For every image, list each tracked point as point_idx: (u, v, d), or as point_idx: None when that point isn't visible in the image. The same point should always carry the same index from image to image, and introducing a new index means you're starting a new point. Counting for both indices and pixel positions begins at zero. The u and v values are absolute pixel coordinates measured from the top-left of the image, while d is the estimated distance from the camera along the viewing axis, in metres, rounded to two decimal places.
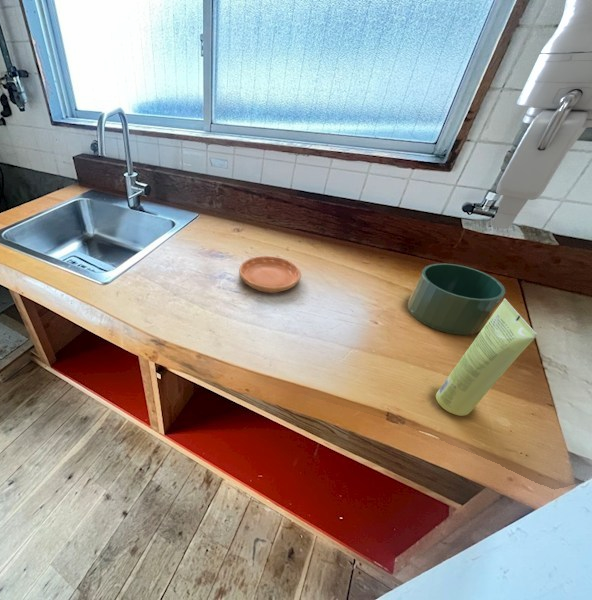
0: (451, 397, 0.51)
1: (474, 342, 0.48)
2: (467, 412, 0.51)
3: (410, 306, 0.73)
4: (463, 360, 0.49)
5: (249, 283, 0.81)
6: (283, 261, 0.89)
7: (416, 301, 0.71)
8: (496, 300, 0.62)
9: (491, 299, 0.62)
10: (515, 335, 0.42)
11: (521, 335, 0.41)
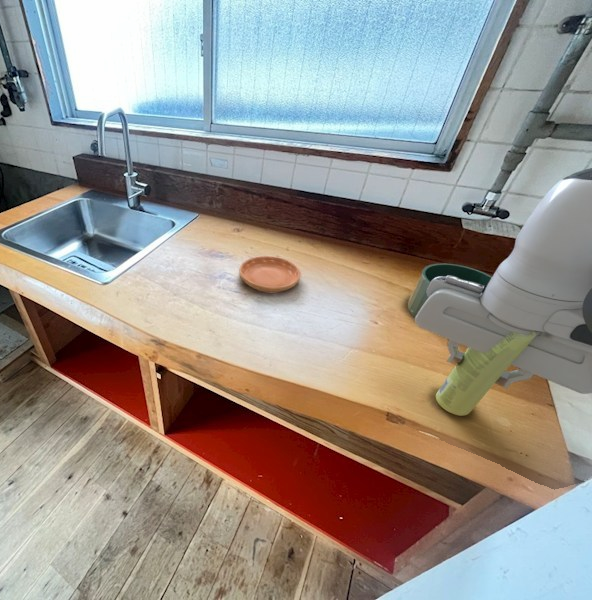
0: (451, 397, 0.51)
1: None
2: (467, 412, 0.51)
3: (410, 306, 0.73)
4: (463, 360, 0.49)
5: (249, 283, 0.81)
6: (283, 261, 0.89)
7: (416, 301, 0.71)
8: None
9: None
10: (514, 335, 0.42)
11: (520, 335, 0.41)
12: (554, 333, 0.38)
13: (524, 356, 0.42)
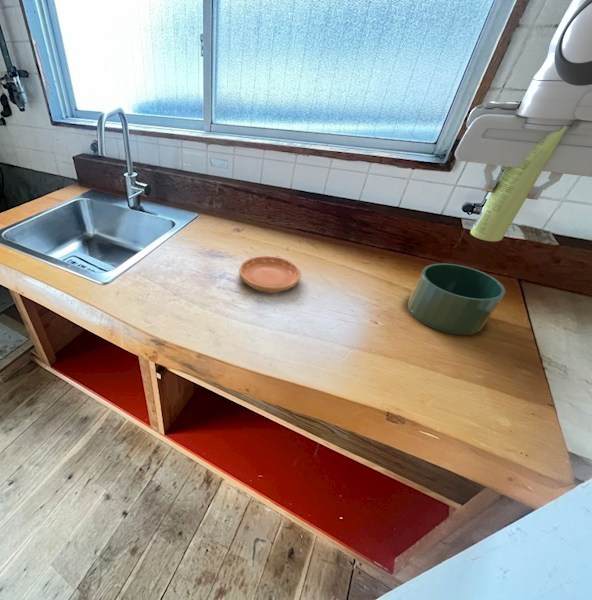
0: (486, 223, 0.59)
1: None
2: (500, 236, 0.59)
3: (410, 306, 0.73)
4: (497, 184, 0.57)
5: (249, 283, 0.81)
6: (283, 261, 0.89)
7: (416, 301, 0.71)
8: (496, 300, 0.62)
9: (491, 299, 0.62)
10: (547, 137, 0.49)
11: (552, 134, 0.48)
12: (583, 117, 0.45)
13: (555, 156, 0.50)
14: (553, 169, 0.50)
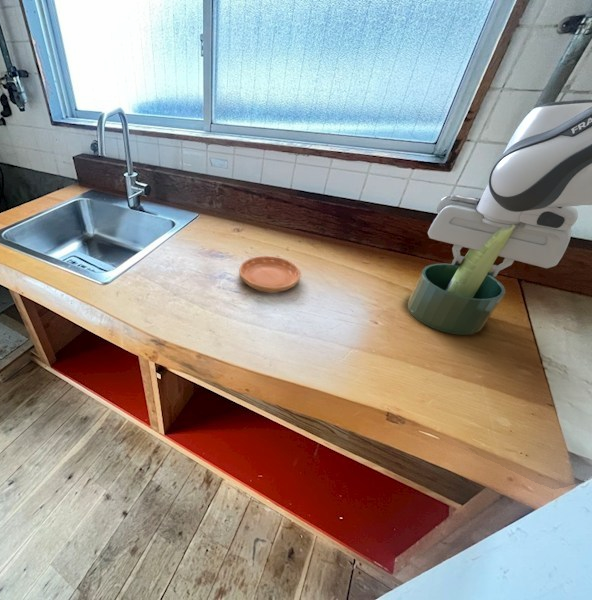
0: (454, 291, 0.69)
1: None
2: None
3: (410, 306, 0.73)
4: (463, 260, 0.67)
5: (249, 283, 0.81)
6: (283, 261, 0.89)
7: (416, 301, 0.71)
8: (496, 300, 0.62)
9: (491, 299, 0.62)
10: (500, 231, 0.59)
11: (504, 229, 0.58)
12: (526, 221, 0.55)
13: (507, 246, 0.60)
14: (506, 256, 0.60)
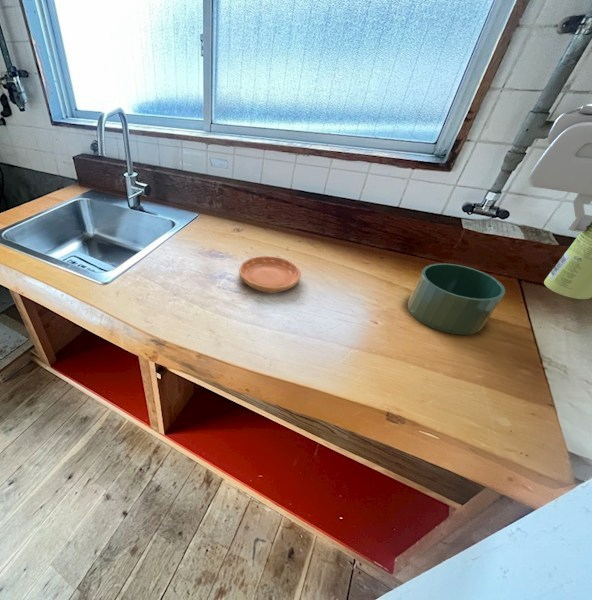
0: (572, 275, 0.42)
1: None
2: None
3: (410, 306, 0.73)
4: None
5: (249, 283, 0.81)
6: (283, 261, 0.89)
7: (416, 301, 0.71)
8: (496, 300, 0.62)
9: (491, 299, 0.62)
10: None
11: None
12: None
13: None
14: None
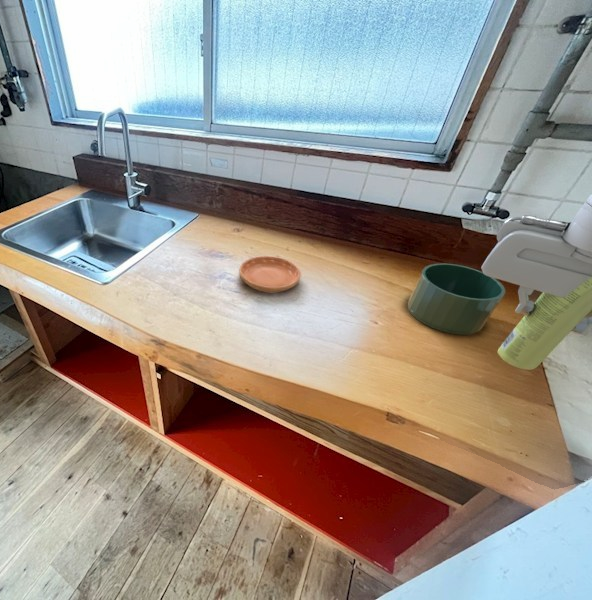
0: (518, 350, 0.49)
1: None
2: (535, 365, 0.49)
3: (410, 306, 0.73)
4: (534, 308, 0.47)
5: (249, 283, 0.81)
6: (283, 261, 0.89)
7: (416, 301, 0.71)
8: (496, 300, 0.62)
9: (491, 299, 0.62)
10: None
11: None
12: None
13: None
14: None
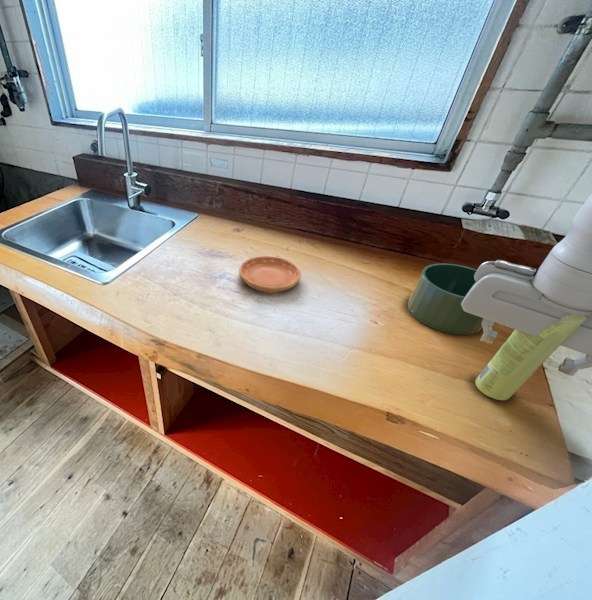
0: (492, 382, 0.53)
1: None
2: (508, 397, 0.53)
3: (410, 306, 0.73)
4: (506, 346, 0.51)
5: (249, 283, 0.81)
6: (283, 261, 0.89)
7: (416, 301, 0.71)
8: None
9: None
10: (563, 320, 0.44)
11: (569, 320, 0.43)
12: None
13: (576, 336, 0.44)
14: (574, 348, 0.44)
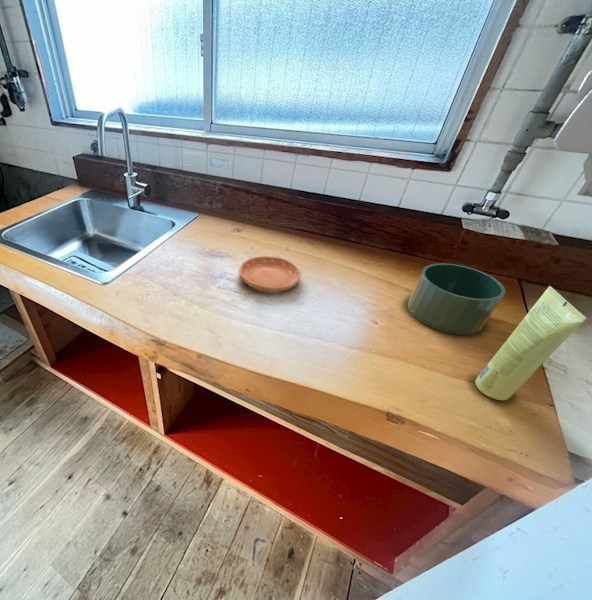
0: (492, 382, 0.53)
1: (517, 328, 0.50)
2: (508, 397, 0.53)
3: (410, 306, 0.73)
4: (506, 346, 0.51)
5: (249, 283, 0.81)
6: (283, 261, 0.89)
7: (416, 301, 0.71)
8: (496, 300, 0.62)
9: (491, 299, 0.62)
10: (563, 320, 0.44)
11: (569, 320, 0.43)
12: None
13: None
14: None
